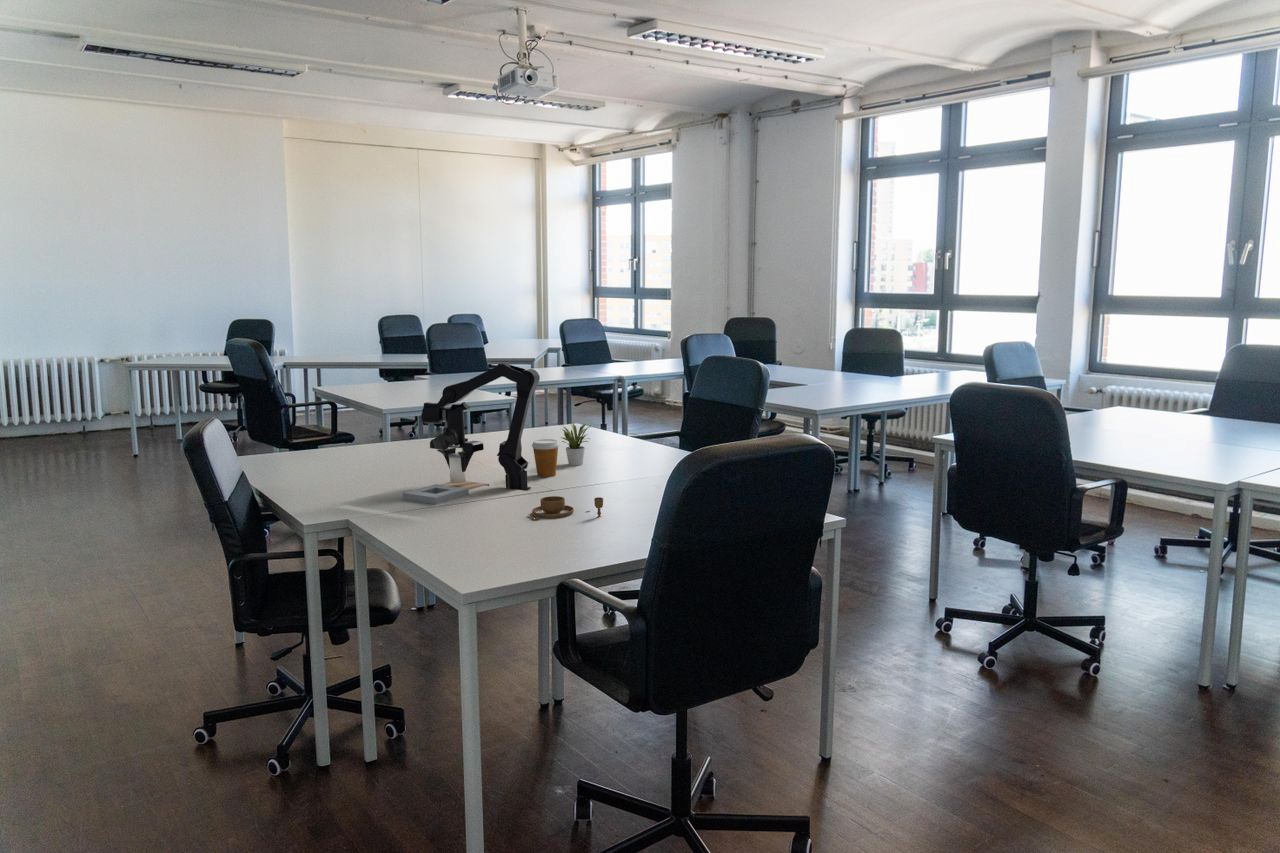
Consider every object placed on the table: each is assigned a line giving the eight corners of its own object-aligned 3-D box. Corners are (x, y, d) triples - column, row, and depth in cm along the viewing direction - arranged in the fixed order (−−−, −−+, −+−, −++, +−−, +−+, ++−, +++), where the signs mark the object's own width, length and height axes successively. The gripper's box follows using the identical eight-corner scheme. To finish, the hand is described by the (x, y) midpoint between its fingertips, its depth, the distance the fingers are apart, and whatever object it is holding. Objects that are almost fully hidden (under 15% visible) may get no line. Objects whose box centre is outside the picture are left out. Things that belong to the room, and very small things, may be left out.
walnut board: (489, 487, 297) (489, 484, 297) (459, 495, 286) (459, 492, 285) (457, 482, 305) (457, 480, 304) (427, 491, 293) (427, 488, 293)
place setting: (566, 506, 271) (565, 487, 270) (607, 518, 256) (607, 498, 255) (516, 516, 260) (515, 496, 259) (556, 529, 245) (555, 508, 244)
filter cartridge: (469, 480, 295) (468, 453, 294) (458, 483, 291) (457, 456, 290) (457, 479, 298) (456, 452, 297) (446, 482, 294) (445, 455, 293)
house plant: (601, 460, 340) (600, 417, 338) (595, 467, 326) (594, 422, 324) (563, 460, 342) (562, 417, 339) (556, 467, 328) (555, 422, 325)
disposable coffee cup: (529, 474, 317) (527, 440, 315) (555, 471, 321) (553, 438, 319) (537, 479, 308) (536, 444, 307) (564, 476, 312) (563, 442, 311)
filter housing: (468, 498, 282) (468, 488, 282) (436, 507, 270) (436, 497, 270) (436, 493, 289) (435, 484, 289) (403, 502, 278) (402, 492, 277)
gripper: (416, 425, 290) (418, 473, 292) (459, 428, 280) (461, 478, 283) (441, 420, 299) (443, 466, 302) (483, 424, 289) (485, 472, 292)
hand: (457, 471), depth 294 cm, fingers closed on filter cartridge, 5 cm apart
